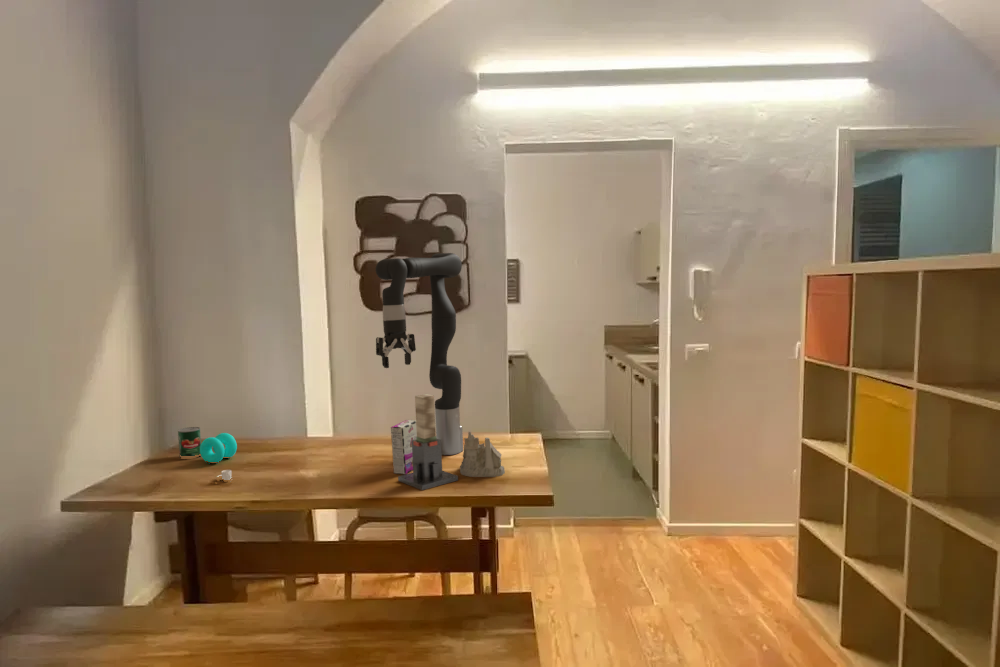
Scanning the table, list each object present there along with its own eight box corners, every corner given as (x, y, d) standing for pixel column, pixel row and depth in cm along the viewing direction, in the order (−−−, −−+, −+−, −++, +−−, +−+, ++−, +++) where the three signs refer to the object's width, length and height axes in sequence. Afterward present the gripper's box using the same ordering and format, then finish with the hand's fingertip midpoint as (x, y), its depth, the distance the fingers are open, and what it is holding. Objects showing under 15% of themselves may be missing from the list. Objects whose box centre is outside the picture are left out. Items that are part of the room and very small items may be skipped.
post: (428, 453, 217) (426, 394, 215) (437, 456, 213) (434, 395, 211) (416, 456, 214) (414, 395, 212) (425, 459, 210) (422, 397, 208)
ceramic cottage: (500, 477, 214) (497, 432, 214) (452, 477, 218) (450, 432, 218) (512, 467, 229) (510, 424, 229) (468, 467, 234) (465, 425, 233)
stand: (433, 471, 224) (431, 432, 223) (458, 480, 213) (456, 439, 212) (398, 480, 215) (396, 440, 214) (422, 490, 204) (420, 447, 203)
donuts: (199, 464, 244) (197, 437, 243) (217, 457, 254) (215, 431, 253) (221, 465, 241) (219, 438, 240) (239, 458, 251) (237, 432, 250)
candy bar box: (408, 464, 233) (405, 419, 232) (420, 465, 232) (418, 420, 230) (392, 473, 223) (390, 426, 222) (405, 474, 221) (403, 427, 220)
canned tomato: (188, 460, 249) (186, 432, 249) (175, 458, 253) (173, 430, 252) (206, 455, 256) (204, 427, 255) (193, 453, 260) (191, 426, 259)
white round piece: (214, 480, 223) (213, 469, 223) (239, 477, 226) (238, 465, 226) (213, 487, 215) (212, 475, 215) (239, 484, 218) (238, 472, 218)
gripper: (405, 316, 227) (408, 362, 229) (369, 319, 218) (372, 368, 219) (418, 317, 222) (420, 364, 223) (382, 320, 212) (385, 369, 214)
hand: (397, 366), depth 221 cm, fingers open, 8 cm apart
